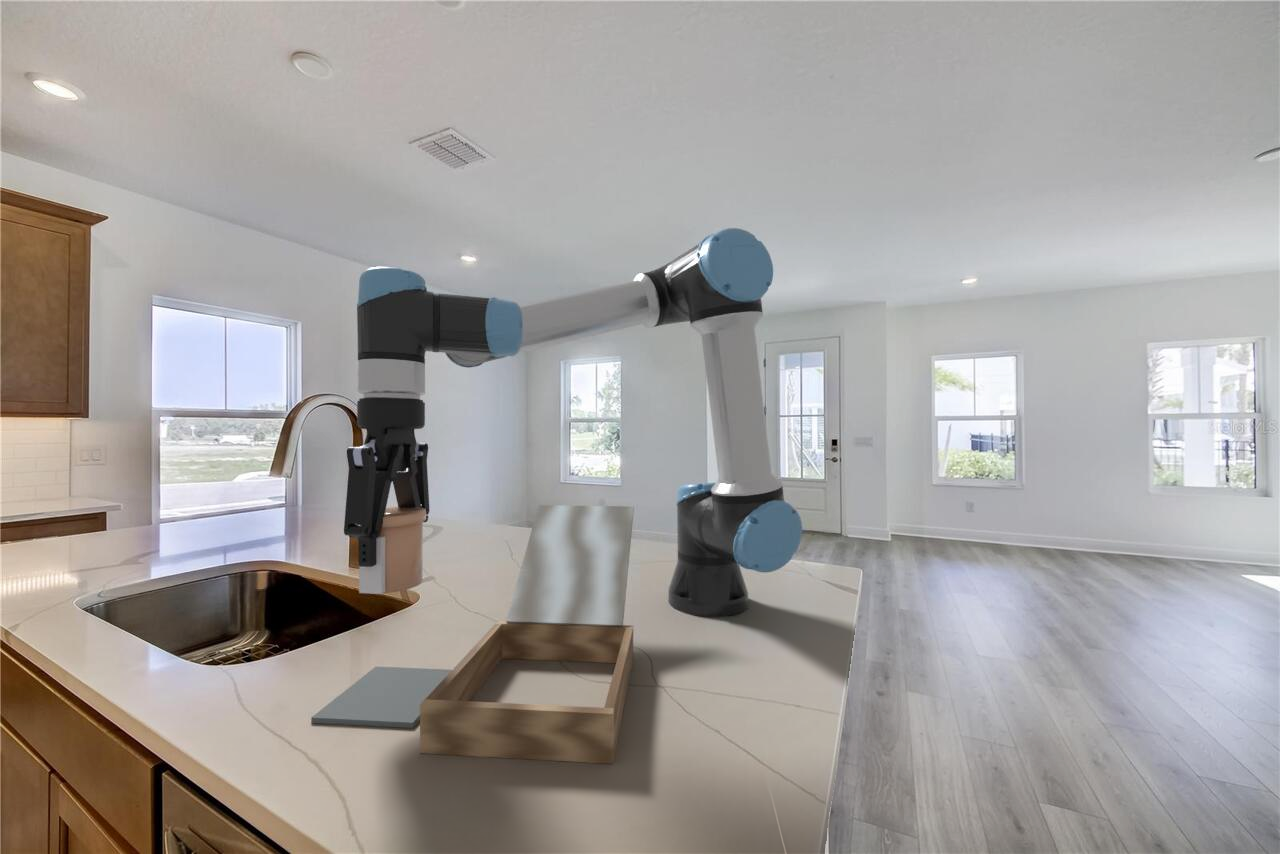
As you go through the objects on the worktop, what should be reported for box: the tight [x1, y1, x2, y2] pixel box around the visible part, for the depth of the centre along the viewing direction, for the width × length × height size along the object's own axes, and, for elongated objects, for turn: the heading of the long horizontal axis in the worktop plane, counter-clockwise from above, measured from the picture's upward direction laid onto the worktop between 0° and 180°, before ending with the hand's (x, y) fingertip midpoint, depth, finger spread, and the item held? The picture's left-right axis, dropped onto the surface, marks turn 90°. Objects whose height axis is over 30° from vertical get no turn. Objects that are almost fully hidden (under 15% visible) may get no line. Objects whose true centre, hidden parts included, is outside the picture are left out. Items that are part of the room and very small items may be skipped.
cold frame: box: [419, 504, 635, 765], centre depth 70 cm, size 20×39×20 cm, turn 175°
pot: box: [380, 506, 426, 594], centre depth 62 cm, size 8×8×9 cm
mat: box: [310, 666, 453, 729], centre depth 62 cm, size 12×12×1 cm
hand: (391, 581), depth 62 cm, fingers closed on pot, 7 cm apart
